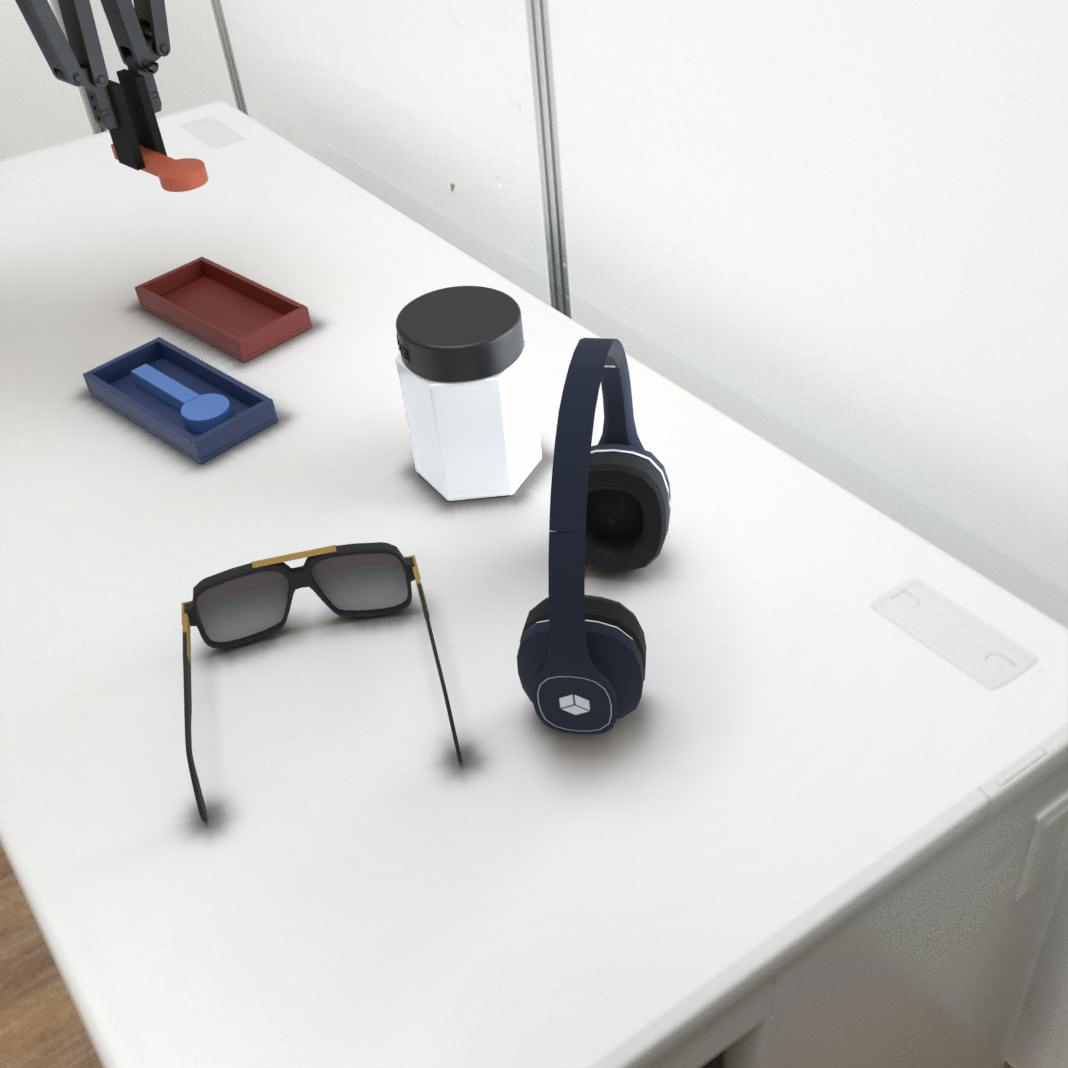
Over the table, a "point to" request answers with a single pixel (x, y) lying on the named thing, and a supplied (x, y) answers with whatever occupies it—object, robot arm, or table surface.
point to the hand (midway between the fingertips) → (143, 160)
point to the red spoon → (173, 170)
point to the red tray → (224, 308)
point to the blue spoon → (185, 400)
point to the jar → (468, 391)
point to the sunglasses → (266, 595)
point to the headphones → (594, 551)
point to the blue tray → (166, 421)
